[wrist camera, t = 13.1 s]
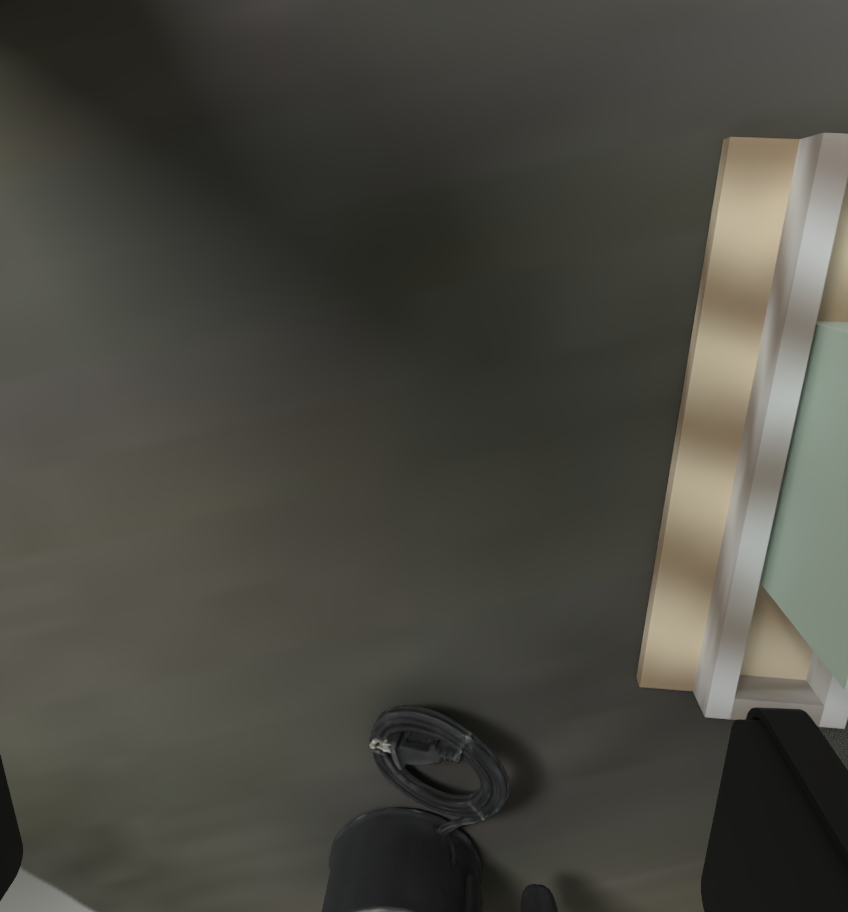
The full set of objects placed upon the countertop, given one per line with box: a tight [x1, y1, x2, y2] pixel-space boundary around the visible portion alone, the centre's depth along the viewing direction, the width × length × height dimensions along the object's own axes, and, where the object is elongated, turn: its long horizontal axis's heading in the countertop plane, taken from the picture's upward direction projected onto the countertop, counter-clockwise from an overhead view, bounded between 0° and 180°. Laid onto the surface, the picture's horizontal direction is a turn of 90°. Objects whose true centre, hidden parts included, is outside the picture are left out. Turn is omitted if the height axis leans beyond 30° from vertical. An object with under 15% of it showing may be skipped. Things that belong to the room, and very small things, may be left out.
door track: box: [636, 133, 848, 729], centre depth 31 cm, size 26×12×3 cm, turn 178°
